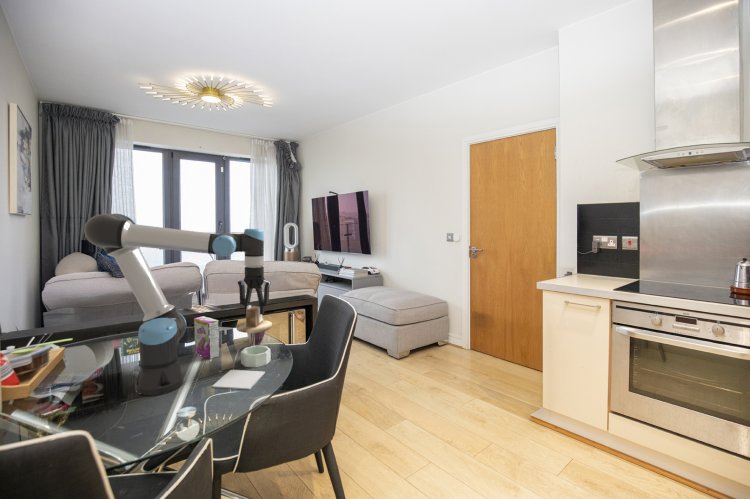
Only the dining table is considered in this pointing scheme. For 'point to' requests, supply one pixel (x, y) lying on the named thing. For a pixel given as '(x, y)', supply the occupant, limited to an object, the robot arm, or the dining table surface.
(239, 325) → the lid
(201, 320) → the candy bar box
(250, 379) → the mat
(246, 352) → the bowl
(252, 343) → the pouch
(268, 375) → the dining table surface
